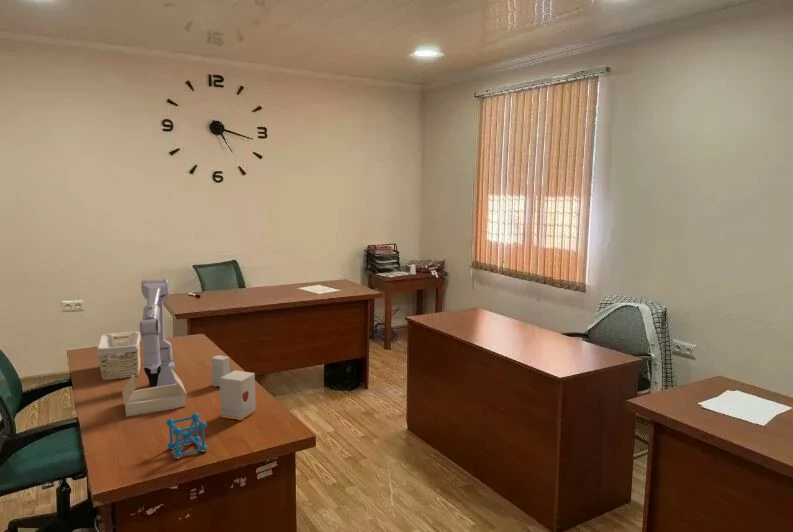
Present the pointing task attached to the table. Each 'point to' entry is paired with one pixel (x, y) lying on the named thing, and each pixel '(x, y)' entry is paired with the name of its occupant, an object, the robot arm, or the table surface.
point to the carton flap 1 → (129, 389)
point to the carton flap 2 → (178, 381)
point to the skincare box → (219, 368)
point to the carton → (155, 400)
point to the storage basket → (119, 355)
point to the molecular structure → (186, 434)
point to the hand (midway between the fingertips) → (153, 386)
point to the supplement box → (237, 394)
